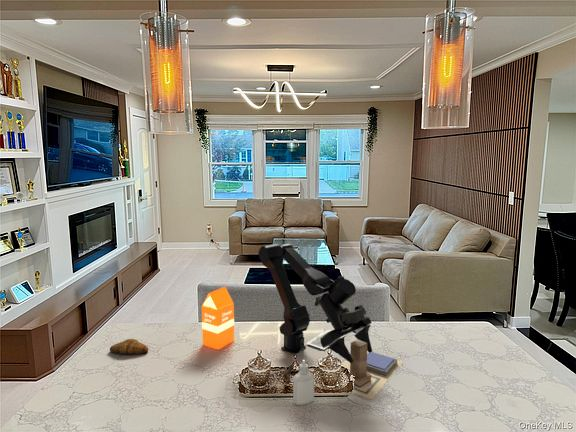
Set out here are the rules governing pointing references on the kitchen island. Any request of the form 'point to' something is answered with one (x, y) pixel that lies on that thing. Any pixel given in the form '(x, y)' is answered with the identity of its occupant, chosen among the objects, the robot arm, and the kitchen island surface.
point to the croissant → (129, 347)
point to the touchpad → (318, 340)
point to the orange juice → (218, 319)
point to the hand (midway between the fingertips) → (361, 357)
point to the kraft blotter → (372, 381)
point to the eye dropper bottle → (303, 385)
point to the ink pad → (380, 363)
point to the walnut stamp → (359, 363)
